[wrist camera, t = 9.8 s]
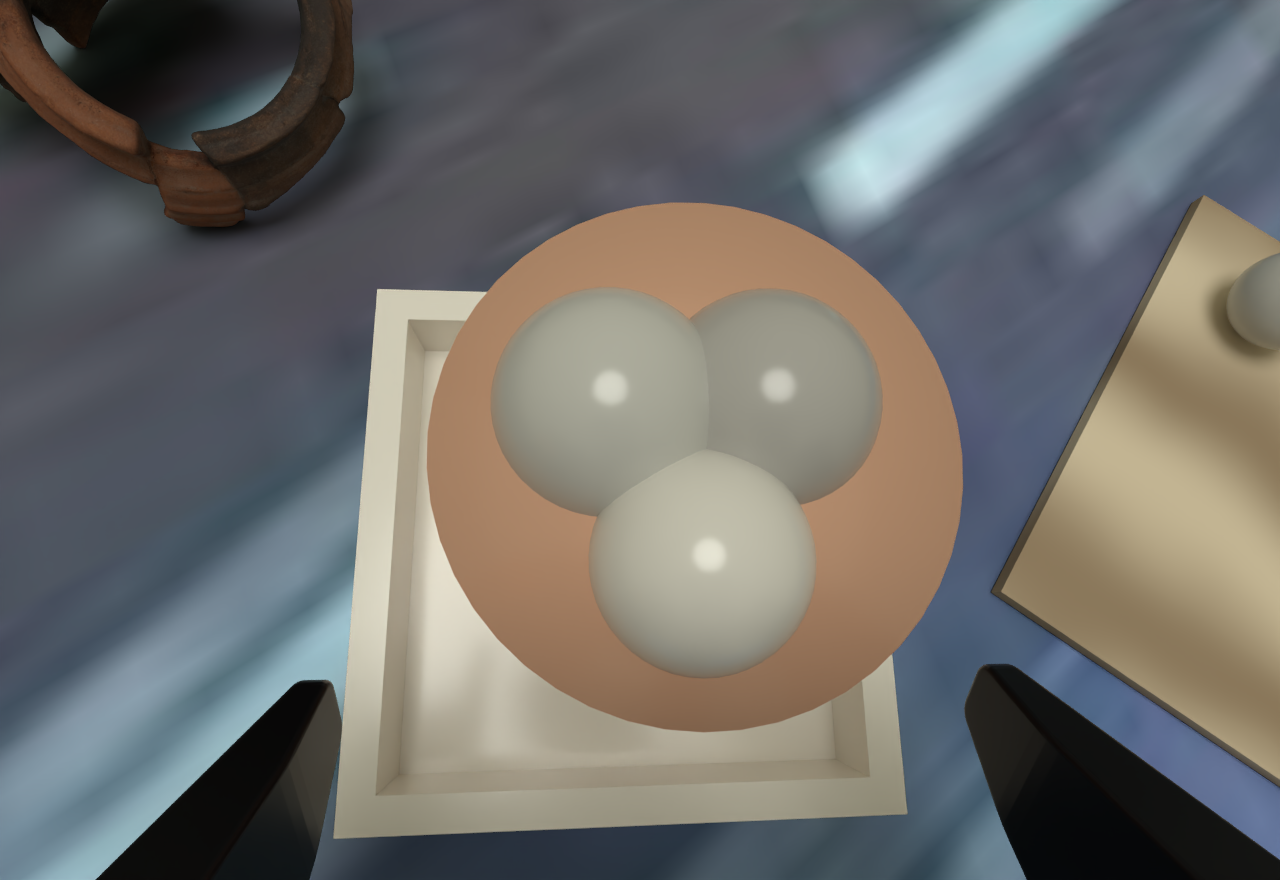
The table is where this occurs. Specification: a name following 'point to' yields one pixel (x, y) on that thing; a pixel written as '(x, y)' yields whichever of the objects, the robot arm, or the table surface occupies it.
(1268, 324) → the grey pebble
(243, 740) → the robot arm
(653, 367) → the terracotta jar
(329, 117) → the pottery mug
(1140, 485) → the beech board
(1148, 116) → the table surface
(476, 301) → the cream dish
